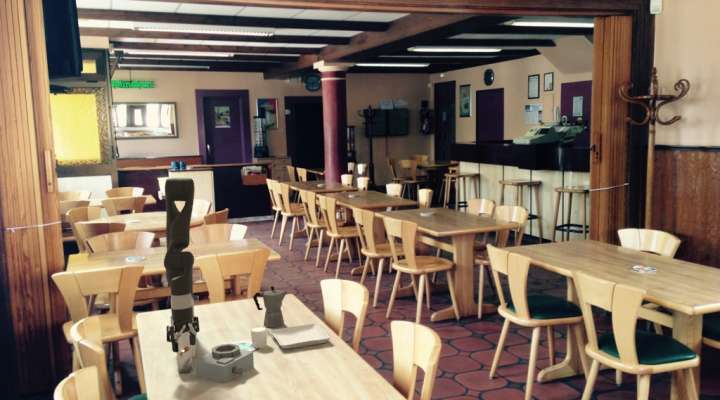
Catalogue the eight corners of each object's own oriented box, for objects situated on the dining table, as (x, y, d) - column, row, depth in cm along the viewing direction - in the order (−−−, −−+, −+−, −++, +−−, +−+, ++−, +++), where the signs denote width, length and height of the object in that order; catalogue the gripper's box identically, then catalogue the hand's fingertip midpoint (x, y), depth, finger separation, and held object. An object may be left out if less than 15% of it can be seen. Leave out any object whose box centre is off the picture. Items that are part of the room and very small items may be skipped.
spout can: (174, 372, 232) (173, 348, 231) (185, 367, 237) (183, 343, 236) (185, 374, 230) (183, 350, 229) (195, 369, 234) (194, 345, 233)
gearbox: (195, 376, 228) (194, 354, 227) (225, 361, 242) (224, 341, 241) (231, 384, 220) (230, 362, 219) (260, 368, 234) (259, 347, 233)
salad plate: (281, 353, 250) (280, 344, 250) (268, 337, 270) (268, 329, 270) (331, 345, 258) (331, 337, 258) (315, 330, 278) (315, 322, 277)
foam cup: (203, 352, 252) (201, 321, 250) (190, 361, 243) (188, 328, 242) (183, 350, 255) (181, 319, 254) (169, 358, 246) (167, 326, 245)
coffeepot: (287, 320, 292) (285, 282, 290) (289, 326, 283) (288, 287, 281) (253, 323, 289) (252, 285, 286) (254, 329, 279) (253, 290, 277)
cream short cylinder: (264, 348, 255) (263, 332, 254) (248, 348, 256) (247, 331, 256) (270, 343, 262) (269, 326, 261) (254, 342, 263) (254, 326, 262)
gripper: (188, 299, 239) (190, 341, 240) (159, 309, 226) (162, 353, 228) (203, 301, 235) (205, 344, 237) (174, 311, 223) (177, 356, 224)
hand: (184, 348), depth 232 cm, fingers open, 8 cm apart
